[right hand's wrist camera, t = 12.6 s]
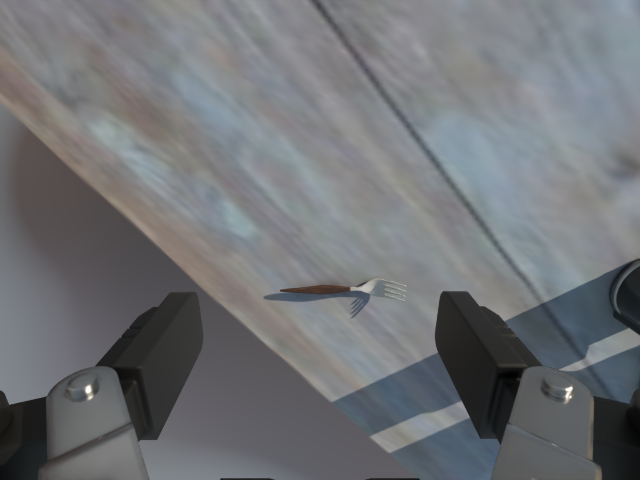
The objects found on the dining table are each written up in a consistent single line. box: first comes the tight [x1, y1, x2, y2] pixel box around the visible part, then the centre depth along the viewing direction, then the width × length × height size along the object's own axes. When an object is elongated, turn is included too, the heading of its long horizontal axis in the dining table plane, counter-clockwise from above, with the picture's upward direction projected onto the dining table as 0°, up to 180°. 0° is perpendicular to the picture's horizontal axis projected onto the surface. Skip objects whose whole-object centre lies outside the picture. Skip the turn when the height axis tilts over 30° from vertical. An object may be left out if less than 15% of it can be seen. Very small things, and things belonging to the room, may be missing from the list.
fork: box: [280, 278, 406, 302], centre depth 44 cm, size 3×16×2 cm, turn 91°
